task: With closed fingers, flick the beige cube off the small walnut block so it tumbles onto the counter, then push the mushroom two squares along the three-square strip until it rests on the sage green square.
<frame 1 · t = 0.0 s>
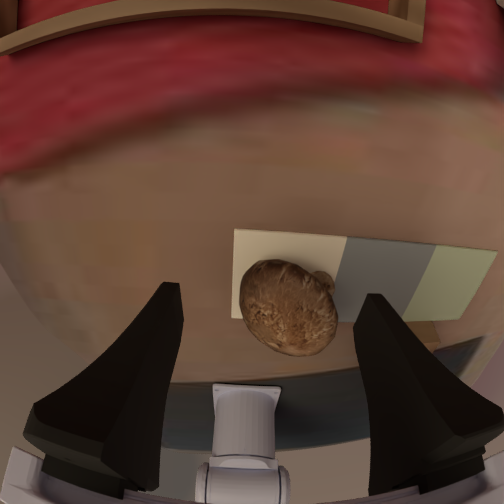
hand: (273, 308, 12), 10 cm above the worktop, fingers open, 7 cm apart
board: (377, 284, 25), on the worktop
plinth: (396, 339, 29), on the worktop
mushroom: (284, 280, 24), resting on board
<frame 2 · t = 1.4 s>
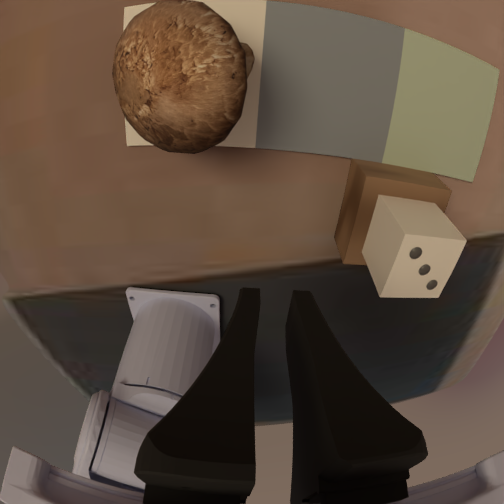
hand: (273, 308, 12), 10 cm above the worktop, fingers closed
beige cube: (398, 227, 17), point 3 cm above the worktop, touching plinth
board: (331, 82, 15), on the worktop
plinth: (383, 204, 20), on the worktop
mushroom: (189, 72, 15), resting on board
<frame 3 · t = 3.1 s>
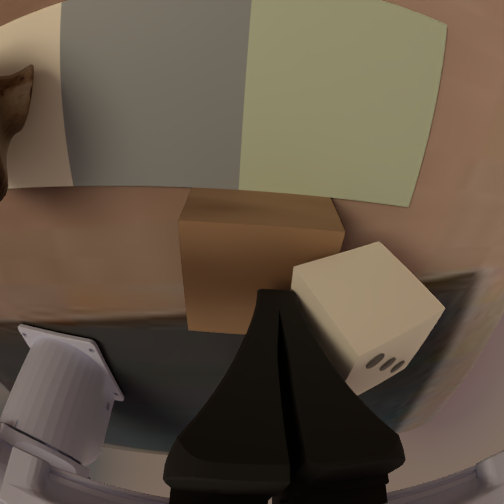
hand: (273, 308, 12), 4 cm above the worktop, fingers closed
beige cube: (331, 290, 13), point 3 cm above the worktop, tilted 23°
board: (145, 84, 11), on the worktop
plinth: (256, 246, 15), on the worktop
mushroom: (5, 107, 10), resting on board
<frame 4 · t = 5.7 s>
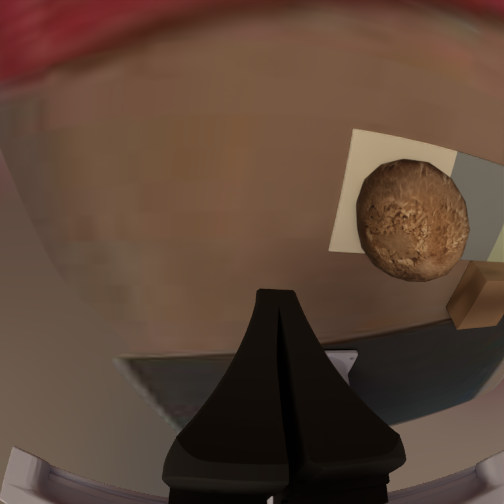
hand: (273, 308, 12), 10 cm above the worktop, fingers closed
board: (475, 212, 20), on the worktop
plinth: (479, 284, 24), on the worktop
mushroom: (394, 200, 20), resting on board
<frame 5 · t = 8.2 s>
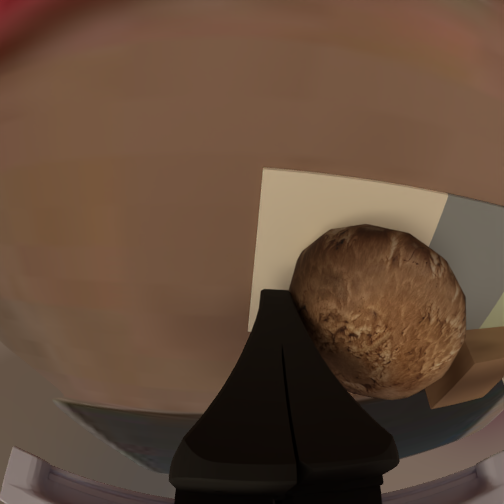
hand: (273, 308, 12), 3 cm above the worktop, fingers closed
board: (469, 275, 14), on the worktop
plinth: (466, 351, 19), on the worktop
mushroom: (356, 269, 14), resting on board, touching gripper
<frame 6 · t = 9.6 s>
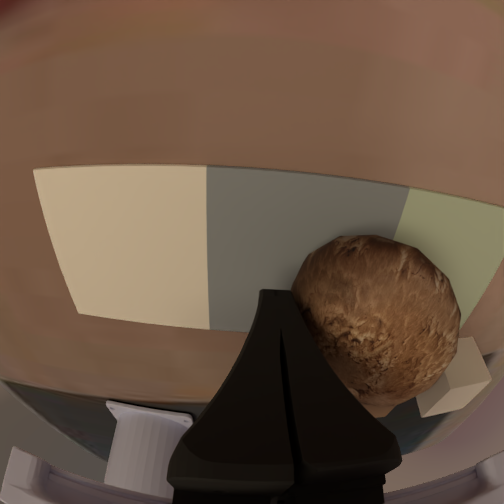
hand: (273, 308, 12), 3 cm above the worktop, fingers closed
beige cube: (427, 380, 17), point 2 cm above the worktop, tilted 90°
board: (297, 267, 14), on the worktop
mushroom: (354, 278, 14), resting on board, touching gripper, plinth
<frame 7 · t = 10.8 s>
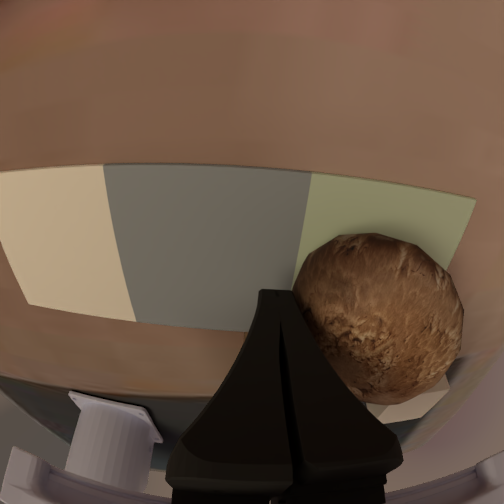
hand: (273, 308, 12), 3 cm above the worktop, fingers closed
beige cube: (376, 385, 17), point 2 cm above the worktop, tilted 90°
board: (204, 260, 14), on the worktop
mushroom: (356, 276, 14), resting on board, touching gripper
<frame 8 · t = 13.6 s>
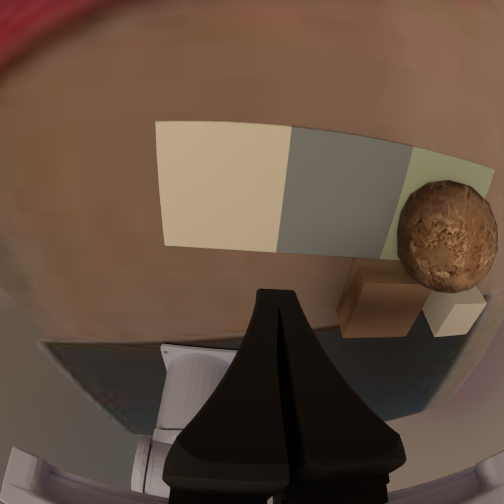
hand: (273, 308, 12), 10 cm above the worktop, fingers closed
beige cube: (436, 304, 23), point 2 cm above the worktop, tilted 90°
board: (343, 199, 20), on the worktop
plinth: (378, 286, 24), on the worktop
mushroom: (428, 215, 20), resting on board
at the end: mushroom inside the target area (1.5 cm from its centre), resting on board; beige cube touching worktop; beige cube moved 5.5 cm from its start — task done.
